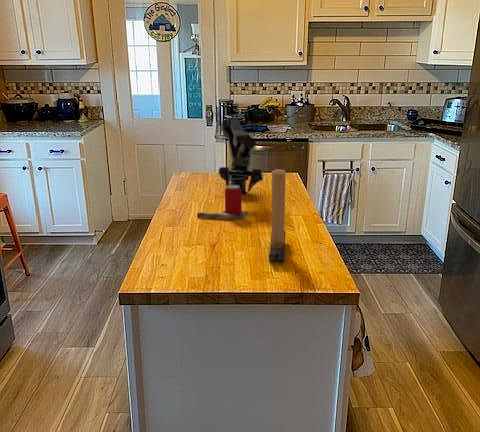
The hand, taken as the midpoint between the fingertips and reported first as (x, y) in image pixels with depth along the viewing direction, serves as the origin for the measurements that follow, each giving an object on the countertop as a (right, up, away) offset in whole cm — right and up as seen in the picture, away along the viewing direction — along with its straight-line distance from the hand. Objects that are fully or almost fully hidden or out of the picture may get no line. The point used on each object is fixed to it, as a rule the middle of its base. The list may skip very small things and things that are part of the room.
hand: (237, 190), depth 202 cm
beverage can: (-2, -10, -5) cm, 11 cm away
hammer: (+14, -23, -41) cm, 49 cm away
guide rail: (-9, -12, -9) cm, 17 cm away
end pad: (-2, -10, -5) cm, 12 cm away
